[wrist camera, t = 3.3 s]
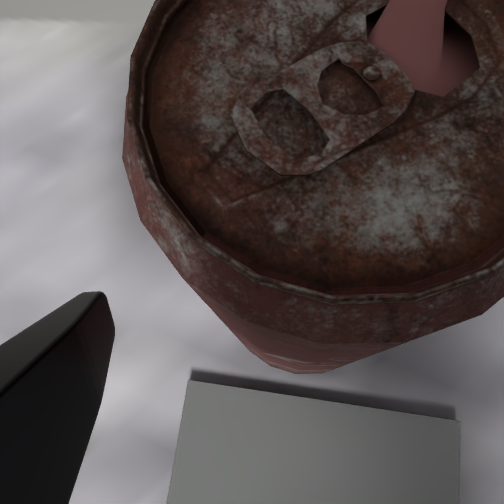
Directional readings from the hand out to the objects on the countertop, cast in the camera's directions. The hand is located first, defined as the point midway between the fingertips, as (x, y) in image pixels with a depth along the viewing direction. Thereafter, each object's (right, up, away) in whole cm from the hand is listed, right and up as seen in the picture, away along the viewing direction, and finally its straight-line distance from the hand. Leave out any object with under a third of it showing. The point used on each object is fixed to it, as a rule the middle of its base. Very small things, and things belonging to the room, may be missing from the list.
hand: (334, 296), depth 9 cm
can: (+1, -1, +10) cm, 10 cm away
